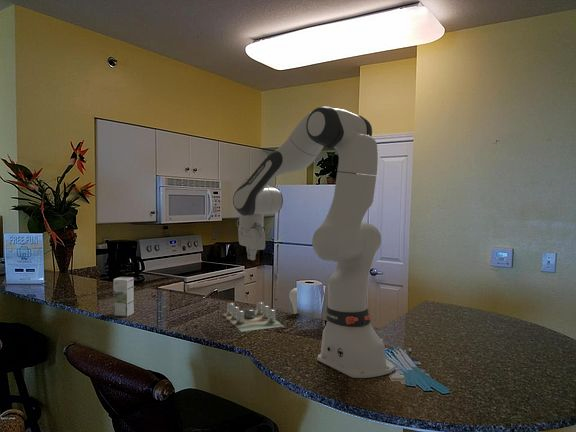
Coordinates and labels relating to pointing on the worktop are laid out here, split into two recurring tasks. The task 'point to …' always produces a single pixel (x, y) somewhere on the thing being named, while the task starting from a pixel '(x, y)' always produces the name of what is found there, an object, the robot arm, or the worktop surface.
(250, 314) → the dark metal plug
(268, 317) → the spacers
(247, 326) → the board
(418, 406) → the worktop surface
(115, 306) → the syrup box
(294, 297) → the lightbulb
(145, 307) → the worktop surface
